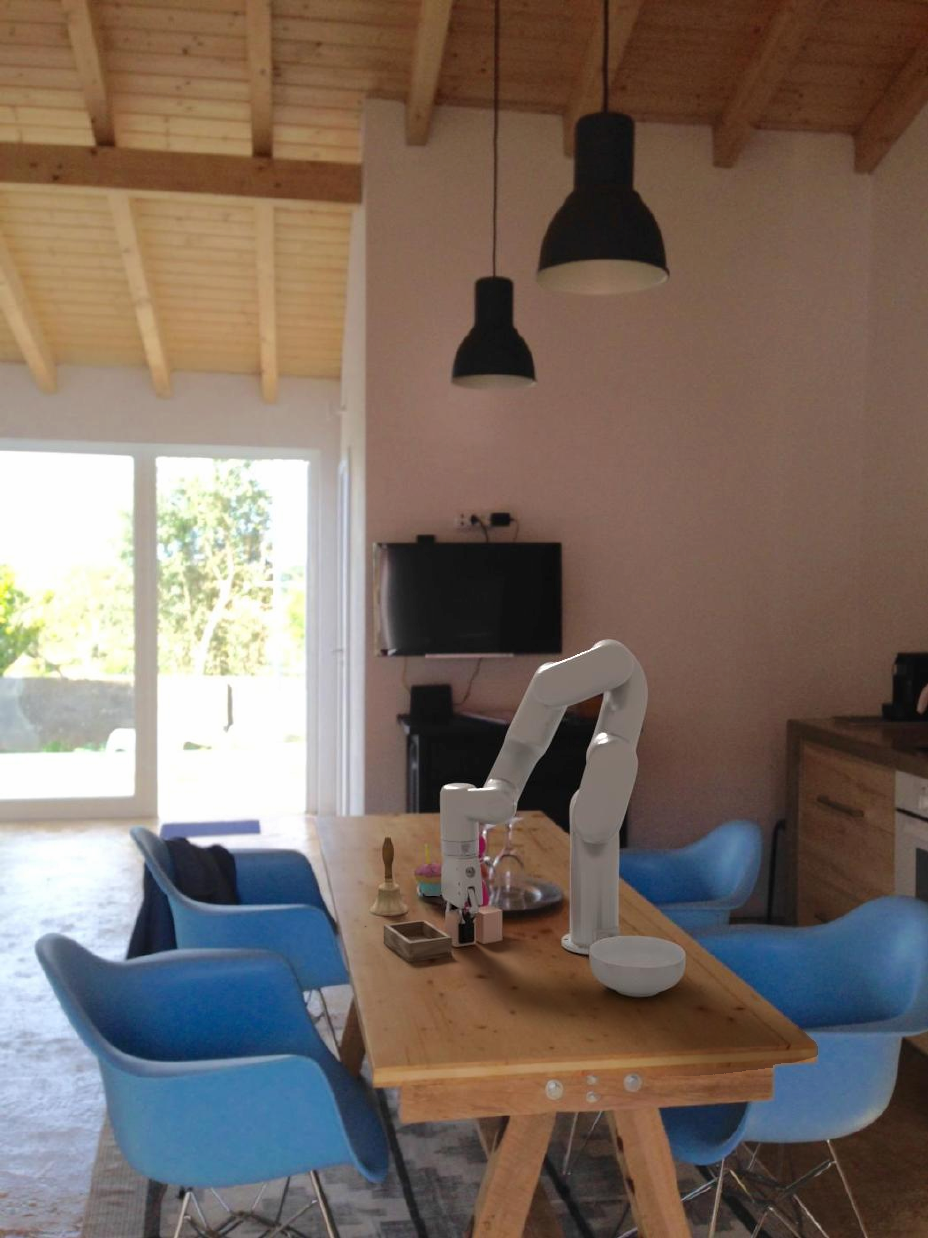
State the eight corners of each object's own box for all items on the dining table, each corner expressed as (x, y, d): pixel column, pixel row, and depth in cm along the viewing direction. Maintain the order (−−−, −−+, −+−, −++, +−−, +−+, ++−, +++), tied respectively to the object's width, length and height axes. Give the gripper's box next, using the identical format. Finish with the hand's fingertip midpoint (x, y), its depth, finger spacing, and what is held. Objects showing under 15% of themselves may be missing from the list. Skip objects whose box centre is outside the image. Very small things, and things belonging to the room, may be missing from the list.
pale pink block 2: (502, 940, 238) (502, 910, 238) (483, 944, 236) (483, 914, 235) (489, 934, 242) (489, 905, 242) (470, 938, 239) (470, 908, 239)
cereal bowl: (570, 983, 213) (570, 943, 213) (644, 968, 222) (644, 930, 221) (628, 1013, 199) (628, 971, 198) (705, 996, 207) (706, 955, 206)
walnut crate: (451, 955, 228) (451, 937, 228) (409, 962, 225) (409, 943, 224) (424, 937, 240) (424, 919, 240) (383, 942, 236) (383, 925, 236)
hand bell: (379, 918, 253) (379, 843, 253) (363, 908, 261) (363, 835, 260) (414, 913, 257) (414, 839, 256) (398, 903, 264) (398, 832, 264)
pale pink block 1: (476, 944, 235) (475, 913, 235) (455, 947, 233) (454, 916, 233) (466, 937, 239) (465, 908, 239) (445, 940, 237) (445, 910, 237)
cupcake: (408, 897, 270) (408, 844, 269) (423, 887, 278) (423, 836, 277) (443, 901, 266) (443, 847, 266) (457, 891, 274) (457, 839, 274)
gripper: (496, 854, 229) (497, 948, 230) (458, 837, 245) (459, 925, 245) (460, 858, 226) (461, 954, 227) (425, 840, 241) (426, 930, 242)
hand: (460, 938), depth 236 cm, fingers closed on pale pink block 1, 4 cm apart
